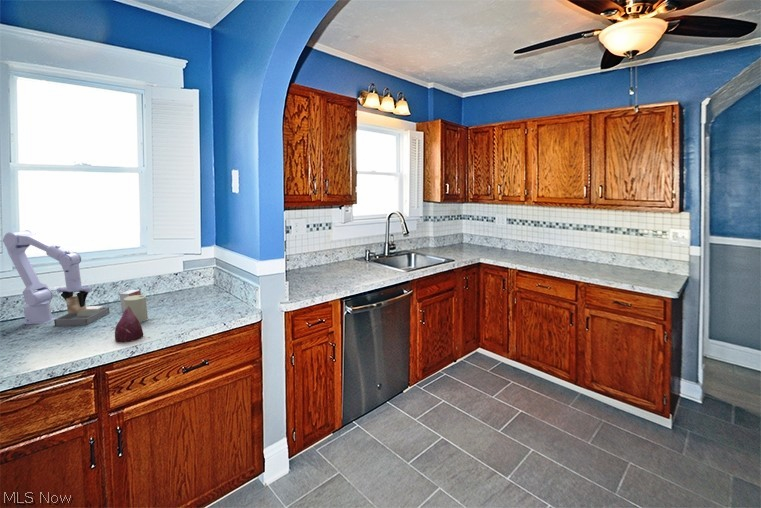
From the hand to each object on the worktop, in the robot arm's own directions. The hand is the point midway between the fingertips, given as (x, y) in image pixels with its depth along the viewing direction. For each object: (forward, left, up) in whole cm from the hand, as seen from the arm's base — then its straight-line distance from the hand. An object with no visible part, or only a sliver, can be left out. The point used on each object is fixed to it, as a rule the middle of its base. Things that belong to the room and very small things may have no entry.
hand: (76, 306), depth 189 cm
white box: (0, +9, -7) cm, 12 cm away
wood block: (0, 0, -2) cm, 2 cm away
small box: (+16, +17, -8) cm, 24 cm away
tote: (0, +4, -8) cm, 9 cm away
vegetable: (+34, -21, -8) cm, 41 cm away
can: (+26, +2, -8) cm, 27 cm away
